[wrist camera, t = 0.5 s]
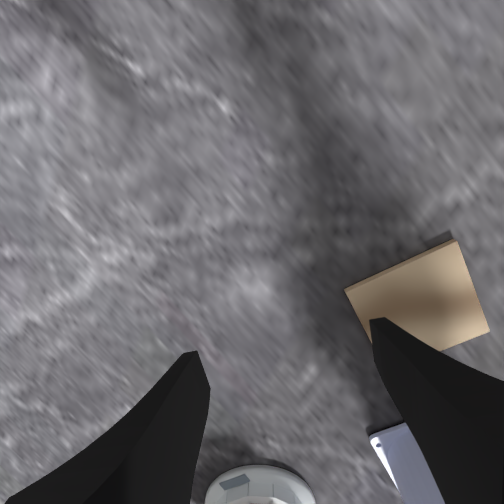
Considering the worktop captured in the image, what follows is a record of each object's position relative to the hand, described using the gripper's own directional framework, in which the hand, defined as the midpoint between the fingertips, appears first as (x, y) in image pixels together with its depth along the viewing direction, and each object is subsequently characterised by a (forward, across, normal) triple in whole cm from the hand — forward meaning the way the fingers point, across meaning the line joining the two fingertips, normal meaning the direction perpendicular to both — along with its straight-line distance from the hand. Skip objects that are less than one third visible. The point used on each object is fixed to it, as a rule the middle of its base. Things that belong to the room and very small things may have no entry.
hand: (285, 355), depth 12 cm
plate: (+10, +7, +25) cm, 28 cm away
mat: (+10, -9, +6) cm, 15 cm away
